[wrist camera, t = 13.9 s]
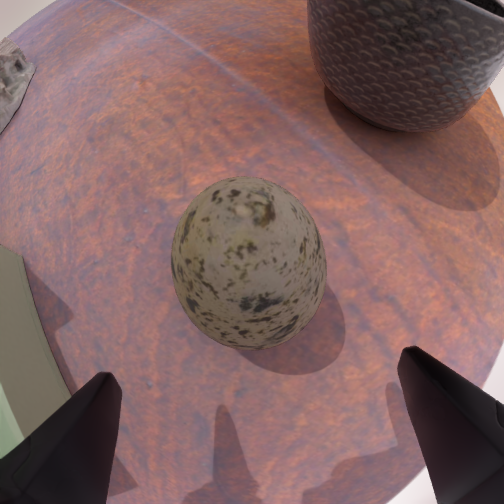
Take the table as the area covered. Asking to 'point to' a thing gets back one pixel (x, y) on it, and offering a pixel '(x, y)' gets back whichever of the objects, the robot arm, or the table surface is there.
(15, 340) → the chest
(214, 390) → the table surface
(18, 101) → the ceramic cottage
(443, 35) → the planter
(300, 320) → the decorative egg
